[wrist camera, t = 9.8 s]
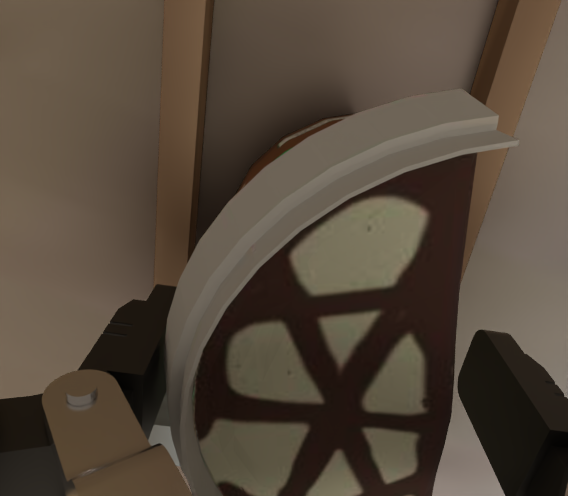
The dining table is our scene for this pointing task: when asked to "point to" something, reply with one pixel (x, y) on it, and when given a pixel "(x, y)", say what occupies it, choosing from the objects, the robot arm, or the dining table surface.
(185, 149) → the guide channel
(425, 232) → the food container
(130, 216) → the dining table surface
